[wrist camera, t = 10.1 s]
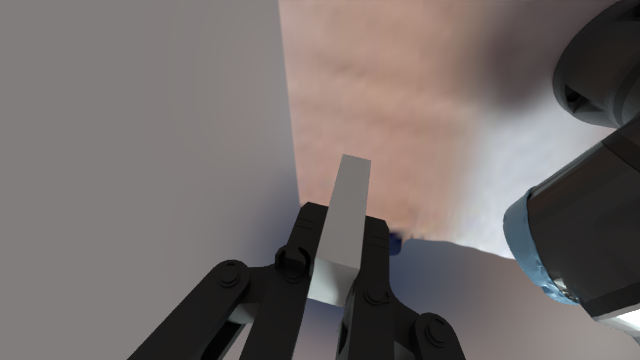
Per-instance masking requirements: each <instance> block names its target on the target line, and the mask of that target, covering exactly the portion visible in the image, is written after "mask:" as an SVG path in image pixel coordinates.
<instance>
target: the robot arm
mask: <svg viewBox="0 0 640 360" xmlns="http://www.w3.org/2000/svg"><path fill="white" fill-rule="evenodd" d="M553 89H554V94H555V97H556V100H557V101H558V103H559V104H560V106H561V107H562V108H563V109H564V110H566V111H567V112H568V113H570V114H571V115H572V116H574V117H575V118H577V119H579V120H581V121H583V122H586V123H589V124H593V125H599V126H604V127H610V128H615V129H617V130H616V131H614V132H613V133H612V134H610V135H609V136H607V137H606V138H605V139H603V140H602V141H600V142H598V143H597V144H596V145H594V146H593V147H591V148H590V149H588V150H587V151H586V152H584V153H583V154H581V155H580V156H579V157H577V158H576V159H574V160H573V161H572V162H570V163H569V164H567V165H566V166H564V167H563V168H562V169H560V170H559V171H557V172H556V173H555V174H553V175H552V176H550V177H549V178H548V179H546V180H545V181H543V182H542V183H540V184H539V185H537V186H534V187H532V188H530V189H529V190H528V191H527V192H526V193H525V195H524V196H522V197H521V198H520V199H519V200H518V201H516V202H515V203H514V204H512V205H511V206H510V207H509V208H508V209H507V210H506V212H505V214H504V219H503V223H504V224H503V230H504V235H505V238H506V241H507V244H508V246H509V248H510V250H511V252H512V254H513V256H514V257H515V259H516V261H517V262H518V264H519V265H520V267H521V268H522V269H523V271H524V272H525V273H526V275H527V276H528V277H529V278H530V279H531V280H532V281H533V282H534V284H535V285H537V286H541V288H542V289H543V291H544V293H545V294H547V295H548V296H549V297H551V298H552V299H554V300H556V301H558V302H561V303H564V304H572V305H578V304H580V305H581V306H582V307H583V308H584V309H585V310H586V312H587V313H588V314H589V315H590V316H591V317H592V319H593V320H594V321H596V322H598V323H601V324H604V325H607V326H609V327H612V328H614V329H617V330H620V331H623V332H624V333H626V334H628V335H630V336H631V337H632V338H633V339H634V340H635V341H636V342H637V343H638V344H639V346H640V0H621V1H619V2H617V3H616V4H614V5H612V6H611V7H609V8H608V9H606V10H605V11H603V12H602V13H601V14H599V15H598V16H597V17H595V18H594V19H593V20H592V21H591V22H589V23H588V24H587V25H586V26H585V27H584V28H583V29H582V30H581V31H580V32H579V33H578V34H577V35H576V36H575V38H574V39H573V40H572V41H571V42H570V44H569V45H568V47H567V48H566V49H565V51H564V53H563V54H562V56H561V58H560V60H559V62H558V65H557V67H556V70H555V74H554V80H553ZM370 166H371V160H367V159H363V158H358V157H354V156H350V155H346V154H343V156H342V159H341V163H340V167H339V171H338V174H337V178H336V182H335V186H334V189H333V193H332V197H331V201H330V205H329V207H327V206H323V205H319V204H315V203H311V202H307V203H306V204H305V205H304V206H303V207H302V208H301V209H300V211H299V214H298V217H297V219H296V222H295V225H294V227H293V230H292V232H291V235H290V237H289V240H288V242H287V244H286V245H284V246H283V247H281V248H280V249H279V250H278V252H277V253H276V255H275V263H274V264H271V265H269V266H264V267H247V266H246V265H245V264H244V263H243V262H241V261H238V260H226V261H223V262H221V263H219V264H218V265H216V266H215V267H214V268H213V269H212V270H211V271H210V272H209V273H208V274H207V275H206V276H205V277H204V278H203V279H202V281H201V282H200V283H199V284H198V285H197V286H196V287H195V288H194V289H193V290H192V291H191V292H190V293H189V294H188V295H187V296H186V297H185V299H184V300H183V301H182V302H181V303H180V304H179V305H178V306H177V307H176V308H175V309H174V310H173V311H172V313H170V314H169V316H168V317H167V318H166V319H165V320H164V321H163V322H162V323H161V324H160V325H159V326H158V327H157V328H156V329H155V331H154V332H153V333H152V334H151V335H150V336H149V337H148V338H147V339H146V340H145V341H144V342H143V344H141V345H140V346H139V347H138V349H137V350H136V351H135V352H134V353H133V354H132V355H131V356H130V357H129V358H128V359H127V360H222V359H223V357H224V356H225V355H226V353H227V352H228V350H229V349H230V347H231V346H232V345H233V343H234V341H235V340H236V339H237V337H238V336H239V334H240V333H241V331H242V330H243V328H244V327H245V325H246V324H247V323H253V325H252V328H251V330H250V333H249V335H248V338H247V340H246V343H245V345H244V348H243V351H242V353H241V356H240V358H239V360H292V357H293V353H294V349H295V345H296V341H297V337H298V334H299V329H300V326H301V322H302V318H303V314H304V309H305V305H306V301H307V298H311V299H315V300H318V301H322V302H325V303H329V304H332V305H336V306H340V307H344V305H345V310H344V316H343V318H342V320H341V323H340V325H339V327H338V330H337V332H339V338H338V345H337V352H336V360H466V359H465V356H464V354H463V351H462V348H461V346H460V343H459V341H458V338H457V336H456V334H455V332H454V330H453V328H452V326H451V325H450V324H449V323H448V322H447V321H446V320H445V319H444V318H442V317H440V316H439V315H437V314H433V313H423V314H421V315H419V314H418V313H416V312H415V311H413V310H411V309H410V308H408V307H407V306H405V305H404V304H402V303H401V302H400V301H399V300H398V299H397V298H396V297H395V295H394V294H393V292H392V290H391V287H390V283H389V228H388V226H387V224H386V222H385V220H382V219H378V218H374V217H370V216H366V215H365V214H366V204H367V195H368V185H369V175H370Z"/></svg>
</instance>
